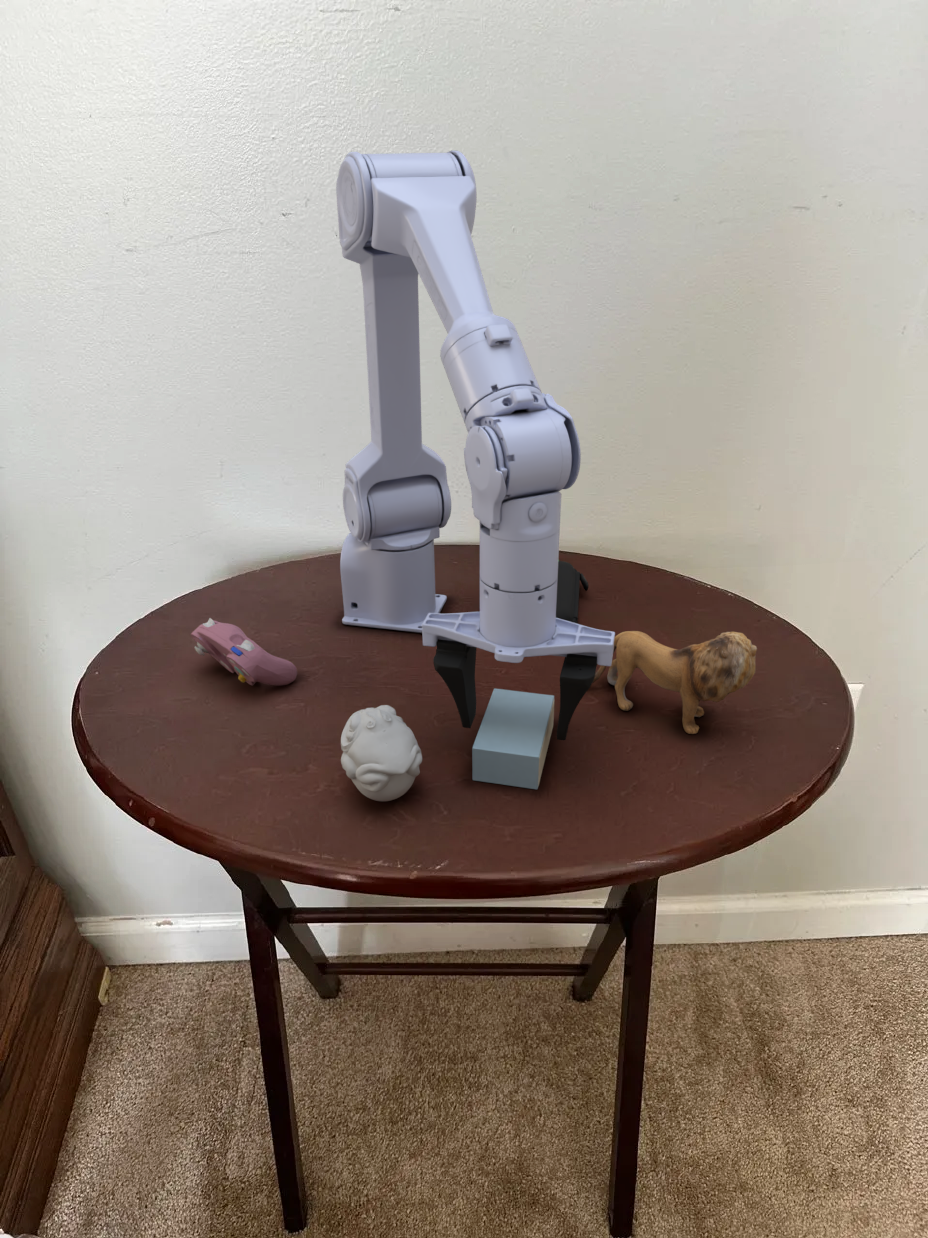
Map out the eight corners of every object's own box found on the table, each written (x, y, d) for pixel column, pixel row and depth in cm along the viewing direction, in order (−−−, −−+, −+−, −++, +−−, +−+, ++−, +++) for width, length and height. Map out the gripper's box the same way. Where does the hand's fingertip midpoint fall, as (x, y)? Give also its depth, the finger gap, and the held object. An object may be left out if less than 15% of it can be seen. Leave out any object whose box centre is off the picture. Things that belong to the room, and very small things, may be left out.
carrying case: (586, 646, 85) (587, 581, 97) (588, 620, 83) (589, 556, 96) (480, 640, 86) (495, 576, 99) (480, 613, 85) (495, 552, 97)
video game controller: (212, 673, 84) (172, 630, 79) (244, 639, 86) (207, 595, 81) (272, 712, 78) (233, 668, 73) (305, 675, 80) (269, 629, 75)
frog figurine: (396, 754, 70) (392, 683, 67) (440, 802, 65) (438, 727, 61) (329, 780, 67) (321, 708, 64) (369, 833, 62) (363, 756, 59)
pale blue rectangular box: (472, 780, 67) (472, 748, 65) (493, 718, 74) (494, 688, 73) (538, 790, 66) (539, 757, 64) (553, 726, 73) (555, 695, 72)
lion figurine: (750, 716, 74) (767, 626, 70) (736, 749, 70) (753, 656, 66) (591, 673, 80) (598, 588, 76) (570, 702, 76) (576, 614, 72)
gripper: (407, 590, 60) (415, 744, 67) (614, 610, 57) (600, 769, 64) (433, 550, 66) (438, 695, 73) (621, 566, 63) (608, 716, 70)
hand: (515, 726), depth 69 cm, fingers open, 7 cm apart
